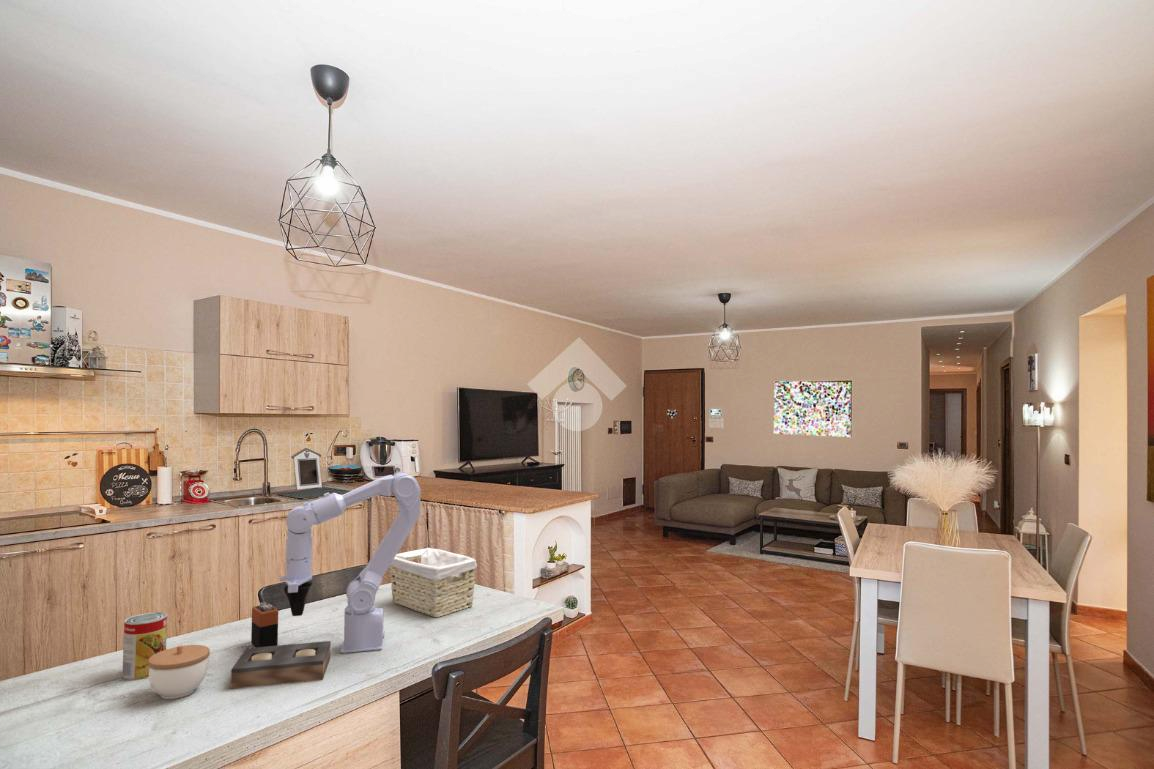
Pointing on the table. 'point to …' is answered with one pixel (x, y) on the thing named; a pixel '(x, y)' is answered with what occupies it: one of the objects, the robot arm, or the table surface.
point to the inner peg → (305, 652)
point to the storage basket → (433, 581)
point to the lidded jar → (178, 670)
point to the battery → (264, 625)
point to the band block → (281, 665)
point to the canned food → (142, 642)
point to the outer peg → (261, 657)
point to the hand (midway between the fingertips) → (297, 615)
